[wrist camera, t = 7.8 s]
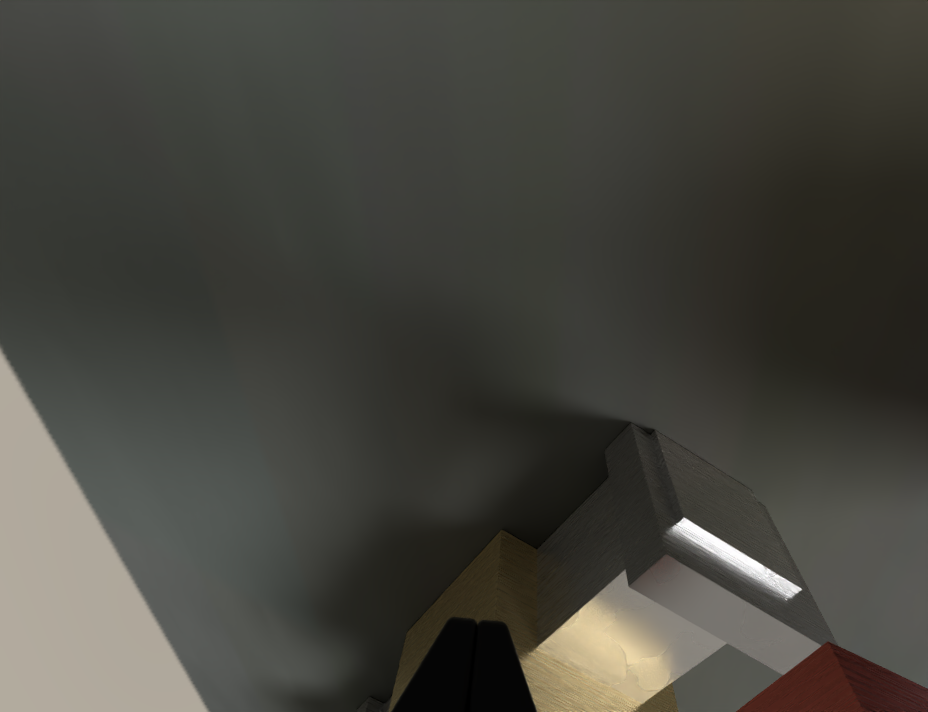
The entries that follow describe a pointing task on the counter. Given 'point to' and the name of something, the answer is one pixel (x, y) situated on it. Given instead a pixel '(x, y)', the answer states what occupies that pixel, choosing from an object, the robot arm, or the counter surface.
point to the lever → (839, 687)
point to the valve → (635, 587)
